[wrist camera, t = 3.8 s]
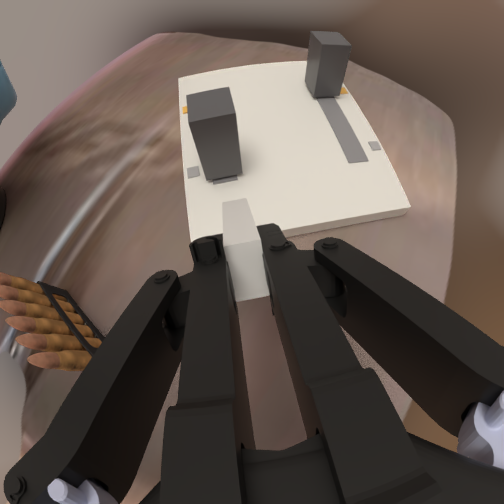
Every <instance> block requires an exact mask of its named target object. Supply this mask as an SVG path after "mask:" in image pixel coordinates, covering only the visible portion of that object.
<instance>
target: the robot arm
mask: <svg viewBox="0 0 504 504" xmlns="http://www.w3.org/2000/svg"><path fill="white" fill-rule="evenodd" d="M16 100H17V95H16V92H15V90H14V88H13V86H12V84H11V82H10V80H9V78H8V76H7V74H6V71H5V69H4V67H3V65H2V63H1V61H0V124H1V122H2V120H3V119H4V118H5V117H6V116H7V114H8V113H9V112H10V111H11V110H12V109H13V108H14V106H15V104H16ZM5 206H6V196H5V192H4V190H3V188H2V187H0V228H1V225H2V221H3V217H4V212H5ZM222 219H223V233H222V234H216V235H211V236H204V237H201V238H198V239H196V240H194V241H193V242H191V243H190V245H189V247H190V251H191V254H192V258H193V261H194V268H193V271H192V272H190V273H188V274H186V275H183V276H180V277H178V275H177V273H176V271H173V270H162V271H160V272H156V273H155V274H154V275H152V276H151V277H150V278H149V279H148V280H147V281H146V282H145V284H144V285H143V286H142V288H141V289H140V290H139V292H138V293H137V294H136V296H135V297H134V298H133V300H132V301H131V302H130V304H129V305H128V306H127V308H126V309H125V311H124V312H123V313H122V315H121V316H120V318H119V319H118V320H117V322H116V323H115V325H114V326H113V327H112V329H111V330H110V332H109V333H108V334H107V336H106V337H105V339H104V340H103V342H102V343H101V345H100V346H99V348H98V349H97V351H96V352H95V354H94V355H93V356H92V358H91V360H90V361H89V363H88V364H87V366H86V367H85V369H84V370H83V372H82V373H81V375H80V376H79V378H78V380H77V381H76V383H75V384H74V386H73V387H72V389H71V391H70V392H69V394H68V396H67V397H66V399H65V401H64V402H63V404H62V406H61V407H60V409H59V411H58V412H57V414H56V416H55V417H54V419H53V421H52V423H51V424H50V426H49V428H48V430H47V432H46V433H45V435H44V436H43V437H42V438H41V439H40V440H39V441H38V442H37V443H36V444H35V445H34V446H33V447H32V448H31V449H30V450H29V451H28V452H27V453H26V454H25V455H24V456H23V457H22V458H21V459H20V460H19V461H18V462H17V463H16V465H14V466H13V467H12V468H11V469H10V471H9V472H8V474H7V475H6V476H5V480H4V493H5V496H6V498H7V500H8V501H9V503H10V504H120V503H121V502H122V501H123V499H124V498H125V496H126V494H127V493H128V491H129V489H130V488H131V486H132V483H133V481H134V479H135V476H136V474H137V471H138V469H139V466H140V463H141V461H142V458H143V455H144V453H145V450H146V447H147V445H148V442H149V440H150V437H151V434H152V432H153V429H154V427H155V424H156V421H157V419H158V416H159V414H160V411H161V409H162V406H163V404H164V401H165V399H166V396H167V394H168V391H169V389H170V386H171V384H172V381H173V379H174V376H175V374H176V371H177V369H178V367H179V364H180V362H181V368H180V379H179V390H178V401H177V404H176V406H170V407H169V408H168V410H167V412H166V417H165V426H164V438H163V451H162V466H161V481H160V482H159V483H158V484H157V485H156V486H155V487H154V488H153V489H152V490H151V491H150V492H149V493H148V494H147V495H146V497H145V498H144V499H143V500H142V501H141V502H140V503H139V504H504V347H503V346H501V345H499V344H498V343H497V342H495V341H494V340H493V339H491V338H490V337H489V336H487V335H486V334H484V333H483V332H482V331H481V330H479V329H478V328H477V327H475V326H474V325H472V324H471V323H470V322H468V321H467V320H465V319H464V318H463V317H461V316H460V315H458V314H457V313H456V312H454V311H453V310H451V309H450V308H448V307H447V306H446V305H444V304H443V303H441V302H440V301H438V300H437V299H435V298H434V297H432V296H431V295H429V294H428V293H426V292H425V291H423V290H422V289H420V288H419V287H417V286H416V285H414V284H413V283H411V282H410V281H408V280H407V279H405V278H403V277H402V276H400V275H399V274H397V273H396V272H394V271H392V270H391V269H389V268H388V267H386V266H384V265H383V264H381V263H380V262H378V261H376V260H375V259H373V258H371V257H370V256H368V255H367V254H365V253H363V252H362V251H360V250H358V249H357V248H355V247H353V246H352V245H350V244H348V243H346V242H345V241H343V240H341V239H337V238H333V237H330V238H329V237H328V238H325V239H321V240H318V241H316V242H315V243H314V250H297V248H296V246H295V245H294V244H293V243H292V242H290V241H287V240H286V238H285V236H284V234H283V232H282V231H281V229H280V227H279V226H278V225H276V224H274V223H270V224H264V225H259V226H256V224H255V221H254V218H253V216H252V213H251V210H250V207H249V204H248V201H247V199H246V198H242V199H237V200H232V201H227V202H222ZM265 296H270V300H271V306H272V313H273V315H275V319H276V323H277V326H278V330H279V334H280V337H281V341H282V345H283V348H284V352H285V356H286V359H287V363H288V367H289V370H290V374H291V378H292V381H293V385H294V389H295V392H296V396H297V400H298V404H299V407H300V411H301V415H302V418H303V422H304V426H305V430H306V434H307V440H305V441H303V442H301V443H299V444H296V445H294V446H292V447H290V448H288V449H285V450H281V451H272V450H256V447H255V442H254V436H253V428H252V421H251V414H250V406H249V399H248V391H247V383H246V375H245V367H244V359H243V351H242V343H241V334H240V326H239V317H238V308H237V304H236V302H239V301H244V300H249V299H254V298H260V297H265ZM235 299H236V300H235ZM162 322H163V323H162ZM340 326H341V327H342V328H343V329H344V330H345V331H346V332H347V333H348V334H349V335H350V336H351V337H352V338H353V339H354V340H355V341H356V342H357V343H358V344H359V345H360V346H361V347H362V348H363V349H364V350H365V351H366V352H367V353H368V354H369V355H370V356H371V357H372V358H373V359H374V360H375V361H376V362H377V363H378V364H379V365H380V366H381V367H382V368H383V369H384V370H385V371H386V372H387V373H388V374H389V375H390V376H391V377H392V378H393V379H394V380H395V381H396V382H397V383H398V384H399V385H400V386H401V387H402V388H403V390H404V391H405V392H406V393H407V394H408V395H409V396H410V397H411V398H412V399H413V400H414V401H415V402H416V403H417V404H418V405H419V406H420V407H421V408H422V409H423V410H424V411H425V412H426V413H427V414H428V415H429V416H430V417H431V418H432V419H433V420H434V421H435V422H436V423H437V424H438V425H439V426H441V427H442V428H443V429H445V430H446V431H448V432H449V433H450V434H452V435H454V436H456V437H458V442H459V443H458V446H457V452H458V453H456V452H453V451H451V450H448V449H445V448H443V447H441V446H438V445H436V444H434V443H431V442H429V441H427V440H424V439H422V438H420V437H418V436H415V435H413V434H410V433H408V432H406V429H405V427H404V425H403V423H402V421H401V419H400V417H399V415H398V413H397V411H396V409H395V408H394V406H393V404H392V402H391V400H390V398H389V396H388V394H387V392H386V390H385V388H384V386H383V384H382V383H381V381H380V379H379V377H378V375H377V374H376V372H375V371H374V370H373V369H371V368H370V367H369V368H366V369H364V368H362V366H361V365H360V363H359V361H358V359H357V357H356V355H355V353H354V352H353V350H352V348H351V346H350V344H349V342H348V340H347V338H346V336H345V334H344V333H343V331H342V329H341V327H340Z"/></svg>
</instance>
